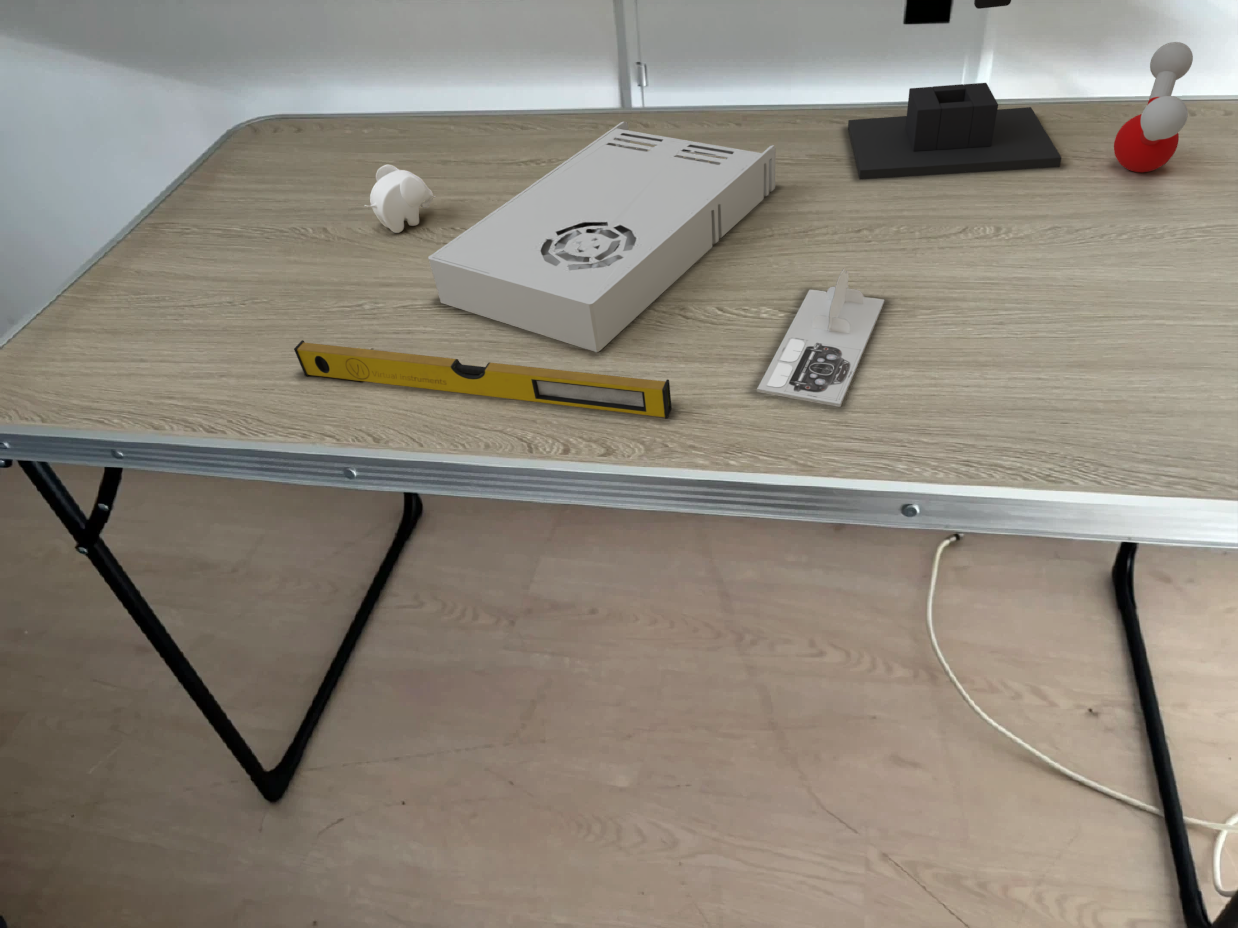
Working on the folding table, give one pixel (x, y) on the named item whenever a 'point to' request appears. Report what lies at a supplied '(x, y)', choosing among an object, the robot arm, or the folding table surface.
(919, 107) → the black socket block
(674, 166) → the power supply unit
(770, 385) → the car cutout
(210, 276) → the folding table surface
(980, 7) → the robot arm
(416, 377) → the spirit level
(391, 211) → the elephant figurine
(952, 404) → the folding table surface
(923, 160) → the base pad
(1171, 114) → the molecular model
